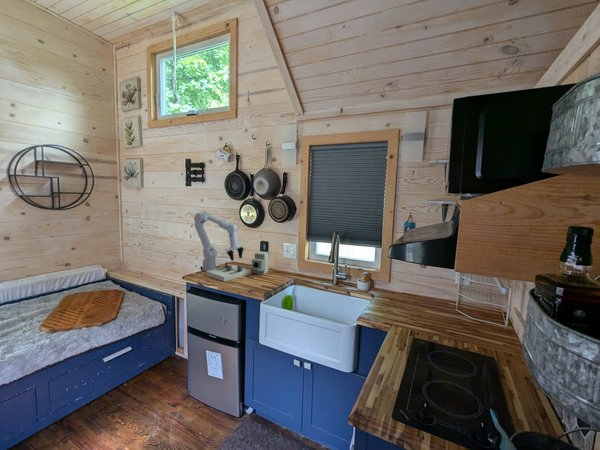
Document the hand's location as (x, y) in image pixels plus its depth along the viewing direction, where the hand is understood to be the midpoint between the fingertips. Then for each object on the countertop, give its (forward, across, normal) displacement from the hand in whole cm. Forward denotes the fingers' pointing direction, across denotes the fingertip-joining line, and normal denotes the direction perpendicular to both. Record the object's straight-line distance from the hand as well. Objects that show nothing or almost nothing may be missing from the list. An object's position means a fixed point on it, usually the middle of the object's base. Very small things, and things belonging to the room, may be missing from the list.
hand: (236, 259), depth 209 cm
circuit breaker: (+13, +10, -12) cm, 20 cm away
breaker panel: (+10, -7, +2) cm, 12 cm away
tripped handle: (+6, -7, +2) cm, 9 cm away
